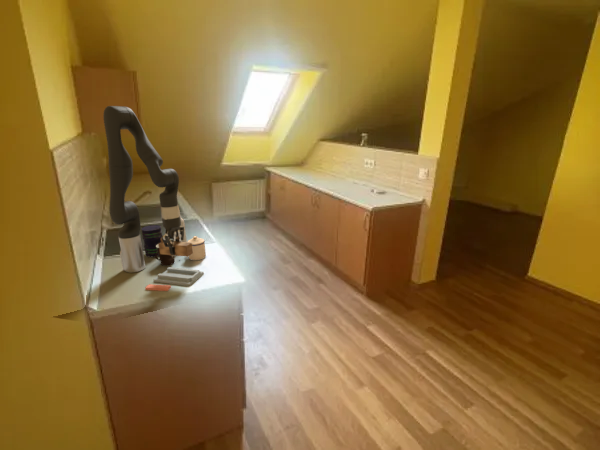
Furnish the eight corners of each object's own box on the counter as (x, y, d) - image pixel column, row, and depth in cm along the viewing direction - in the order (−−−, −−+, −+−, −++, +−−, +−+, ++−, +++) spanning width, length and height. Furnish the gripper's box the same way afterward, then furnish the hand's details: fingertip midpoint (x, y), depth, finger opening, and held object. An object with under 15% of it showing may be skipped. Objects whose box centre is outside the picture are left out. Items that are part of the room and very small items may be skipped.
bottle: (175, 250, 183) (169, 201, 174) (174, 246, 188) (168, 199, 180) (188, 248, 185) (182, 200, 177) (186, 244, 191) (180, 197, 182)
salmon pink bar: (145, 290, 140) (145, 287, 140) (149, 287, 143) (149, 284, 143) (167, 291, 139) (167, 288, 139) (171, 288, 142) (170, 285, 141)
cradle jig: (153, 281, 147) (153, 276, 146) (170, 270, 158) (169, 265, 157) (189, 286, 143) (188, 280, 142) (203, 274, 154) (203, 268, 153)
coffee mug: (171, 258, 172) (168, 240, 169) (180, 262, 167) (177, 244, 164) (149, 265, 164) (146, 247, 161) (158, 270, 158) (155, 251, 155)
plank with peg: (160, 254, 147) (157, 239, 144) (165, 250, 150) (163, 236, 148) (187, 256, 143) (186, 241, 141) (192, 253, 147) (191, 238, 145)
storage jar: (141, 256, 175) (136, 229, 171) (152, 249, 184) (148, 224, 180) (157, 257, 173) (153, 231, 169) (168, 251, 182) (165, 225, 178)
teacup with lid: (209, 256, 174) (207, 235, 171) (196, 262, 167) (193, 240, 164) (194, 251, 181) (192, 231, 177) (181, 257, 174) (178, 236, 170)
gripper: (173, 211, 149) (177, 246, 154) (152, 219, 136) (158, 258, 141) (187, 211, 147) (192, 247, 152) (168, 220, 134) (173, 259, 139)
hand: (176, 252), depth 147 cm, fingers closed on plank with peg, 4 cm apart
